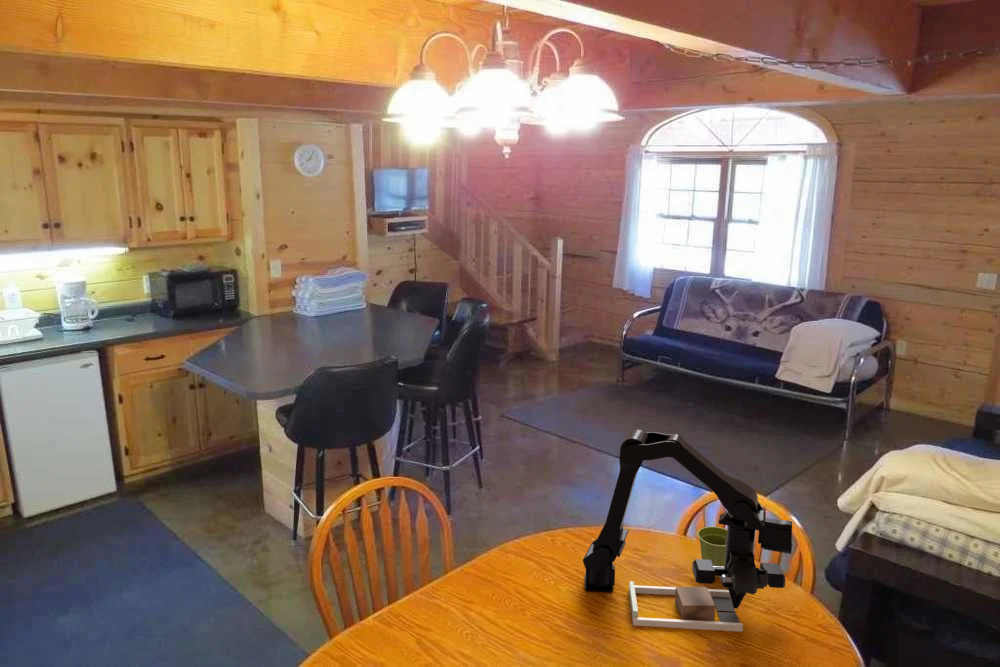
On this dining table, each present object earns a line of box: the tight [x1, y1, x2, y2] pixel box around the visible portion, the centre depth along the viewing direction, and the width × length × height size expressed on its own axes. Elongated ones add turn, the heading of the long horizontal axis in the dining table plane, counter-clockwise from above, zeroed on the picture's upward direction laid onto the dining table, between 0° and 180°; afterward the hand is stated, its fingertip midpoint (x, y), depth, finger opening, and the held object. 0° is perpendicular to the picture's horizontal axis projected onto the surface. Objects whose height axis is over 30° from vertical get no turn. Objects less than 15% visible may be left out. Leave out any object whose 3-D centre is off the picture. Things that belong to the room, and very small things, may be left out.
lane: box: [628, 581, 744, 633], centre depth 155 cm, size 23×13×3 cm, turn 84°
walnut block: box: [674, 586, 716, 622], centre depth 155 cm, size 7×7×4 cm
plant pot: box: [696, 525, 727, 567], centre depth 171 cm, size 9×9×9 cm
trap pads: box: [712, 597, 740, 623], centre depth 154 cm, size 4×11×1 cm, turn 174°
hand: (735, 607), depth 154 cm, fingers closed
